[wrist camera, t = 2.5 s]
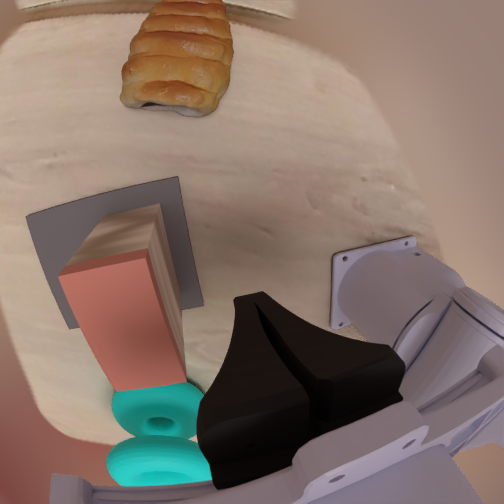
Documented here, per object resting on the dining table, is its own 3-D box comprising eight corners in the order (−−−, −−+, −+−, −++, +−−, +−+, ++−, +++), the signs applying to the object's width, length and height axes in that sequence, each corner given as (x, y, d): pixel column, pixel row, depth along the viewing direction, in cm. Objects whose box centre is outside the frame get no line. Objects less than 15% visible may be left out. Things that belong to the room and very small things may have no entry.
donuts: (139, 503, 19) (82, 463, 14) (137, 430, 28) (96, 376, 23) (235, 492, 20) (204, 453, 16) (218, 416, 29) (191, 358, 25)
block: (159, 203, 19) (145, 257, 11) (180, 293, 22) (187, 381, 14) (104, 215, 18) (57, 276, 10) (131, 302, 21) (115, 391, 13)
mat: (177, 176, 19) (177, 177, 18) (203, 303, 23) (203, 305, 22) (27, 215, 17) (25, 216, 16) (70, 326, 21) (69, 329, 20)
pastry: (149, -7, 13) (145, -31, 10) (243, 4, 15) (257, -18, 11) (120, 112, 16) (107, 108, 13) (219, 121, 18) (229, 118, 15)
